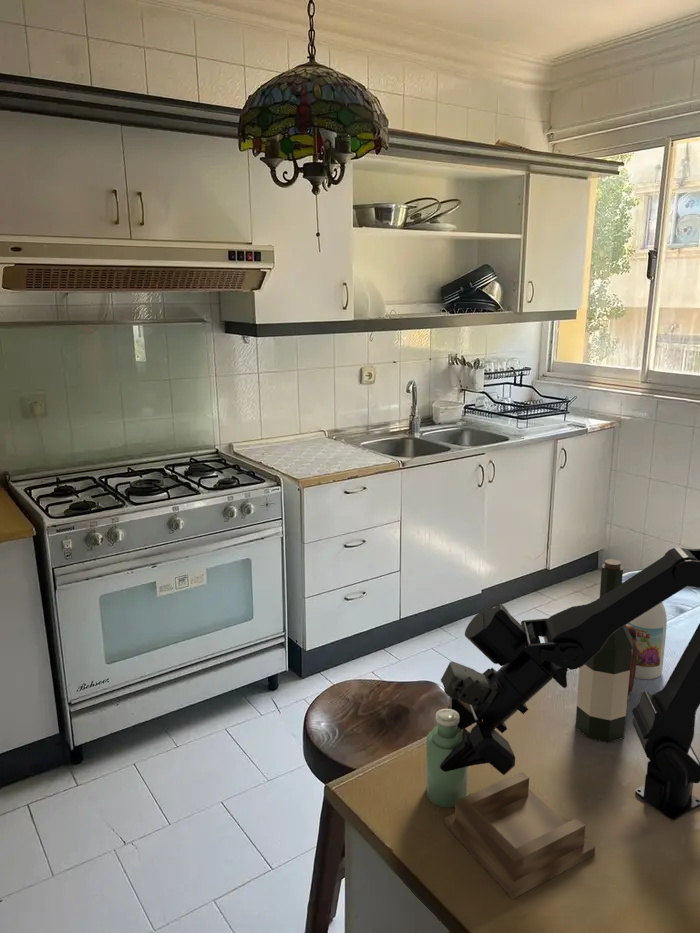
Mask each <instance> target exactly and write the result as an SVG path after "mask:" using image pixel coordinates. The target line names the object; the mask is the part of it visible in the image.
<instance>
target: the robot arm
mask: <svg viewBox="0 0 700 933" xmlns="http://www.w3.org/2000/svg"><path fill="white" fill-rule="evenodd" d="M638 572H639V571H638ZM636 573H637V572H636ZM636 573H635V574H634V575H632V576H631V577H629V578H628V579H626V580H624V581H622V584H620V585H619V586H617V587H616V588H614V589H613V590H611V591H609V592H608V593H606V594H605V595H603V596H602V597H600V596H599V598H598V599H596V600H594V601H591V602H589V603H587V604H586V603H585V604H581V605H574V606H571V607H567V608H566V609H563V610H561V611H559V612H557V613H555V614H553V615H551V616H549V617H548V618H539V619H527V620H526V619H525V620H524V619H523V620H522V621H520V622H519V621H518V620H517V619H516V618H514V617H513V615H511V613H510V612H509V610H508V609H507V608H506V607H505V606H504V605H503V604H502V603H498V604H497V605H496V606H494V607H488V608H486V609H484V610H481V611H479V612H478V613H477V614H475V615H474V616H473V618H472V619H471V620H470V621H469V623H468V624H467V626H466V628H465V630H464V637H465V638H466V639H467V640H468V641H470V643H471V644H473V645H474V646H475V647H476V648H477V649H478V650H479V651H480V652H481V653H482V654H483V655H484V656H485V657H486V658H487V659H488V660H489V661H490V662H492V664H494V665H499V666H500V668H499V669H498V670H497V671H496V669H494V668H493V667H491V668H488V669H486V670H485V671H484V672H482V673H481V672H480V671H477V670H476V669H473V668H471V667H469V666H466V665H464V664H462V663H458V662H455V661H449V663H448V665H447V667H446V669H445V671H444V673H443V675H442V677H441V678H440V682H441V683H442V685H443V688H444V689H443V691H444V693H445V695H446V696H447V697H448V699H449V700H448V701H449V703H448V704H449V705H448V708H447V709H452V710H454V711H456V712H458V714H459V716H460V720H459V723H458V724H457V727H459V728H460V729H461V730H462V740H461V742H460V743H459V744H458V745H457V746H456V747H455V748H454V749H453V751H452V752H451V753H450V754H449V755H448V756H447V757H446V758H445V760H444V761H443V762H442V763H441V765H440V769H442V770H443V771H444V772H447V771H451V770H455V769H459V768H464V767H472V766H476V765H478V766H479V765H484V764H490V765H491V766H492V767H493V768H495V769H496V770H497V771H498V772H499V773H500V774H501V775H503V776H505V775H506V774H508V772H509V771H511V770H512V769H513V768H514V767H515V766H516V756H515V754H514V751H513V749H512V747H511V745H510V742H509V741H508V740H507V739H506V738H505V737H504V736H502V735H501V734H503V733H505V732H506V730H508V728H507V727H508V726H507V724H506V722H507V721H508V720H509V719H511V717H512V716H514V714H516V713H517V712H518V711H519V712H520V713H521V715H524V714H526V712H528V711H529V708H528V706H527V705H526V703H528V702H529V701H530V700H531V699H532V698H533V697H534V696H535V695H536V694H537V693H539V691H541V689H543V688H544V687H545V686H546V685H547V684H548V683H549V682H550V681H552V679H553V680H554V681H555V682H556V683H557V684H558V685H560V687H561V688H563V689H565V688H567V687H568V679H567V676H568V675H567V674H568V670H570V671H574V670H577V669H579V668H580V667H582V666H583V665H585V664H586V663H587V662H588V661H589V660H590V659H592V658H593V657H594V656H595V655H596V654H597V653H598V652H599V651H600V650H601V649H602V647H603V646H604V644H605V643H606V641H607V640H608V638H609V637H610V636H611V635H612V634H613V633H614V632H615V631H617V630H618V629H620V628H622V627H623V626H625V625H626V624H628V623H630V622H631V621H633V620H634V619H636V618H637V617H639V616H641V615H642V614H644V613H645V612H647V611H649V610H650V609H652V608H653V607H655V606H657V605H658V604H660V603H661V602H664V601H666V600H668V599H669V598H672V597H673V596H674V595H675V594H677V593H679V592H681V591H682V590H684V589H686V588H687V587H690V588H691V587H692V588H698V589H700V548H686V547H672V548H671V549H669V550H668V551H666V552H665V553H664V555H663V556H662V557H660V558H659V559H657V560H656V561H654V562H653V563H651V564H649V565H648V566H646V567H645V568H643V569H642V570H640V572H639V573H637V574H636ZM540 637H541V638H543V639H544V642H541V639H540ZM699 706H700V622H699V623H698V626H697V627H696V629H695V630H694V633H693V634H692V637H691V638H690V639H689V642H688V644H687V645H686V648H684V651H683V653H682V655H681V656H680V658H679V659H678V662H677V663H676V666H675V667H674V668H673V671H672V672H671V674H670V676H669V678H668V680H667V681H666V683H665V685H664V686H663V687H662V689H661V690H659V691H657V692H655V693H653V694H652V693H650V692H648V691H646V690H643V691H642V693H641V696H640V698H639V701H638V703H637V704H636V706H634V707H633V708H632V709H631V710H630V711H631V713H632V715H633V718H632V724H633V728H634V730H635V732H636V735H637V737H638V738H639V742H640V744H641V746H642V749H643V751H644V753H645V755H646V758H647V759H648V760H649V761H648V762H647V766H646V774H645V777H644V778H645V779H644V784H643V785H641V786H639V787H637V788H636V789H635V792H634V793H635V794H636V795H637V796H638V797H640V798H641V799H642V800H643V801H645V802H646V803H648V804H649V805H650V806H651V807H653V808H654V809H656V810H657V811H658V812H660V813H661V814H663V815H664V816H665V817H667V818H668V819H669V820H672V821H675V820H677V819H679V818H681V817H682V816H685V815H686V814H688V813H690V812H692V811H693V810H695V809H697V808H699V807H700V799H699V798H698V797H697V796H695V795H694V794H693V789H694V784H699V783H700V760H699V757H698V756H697V755H696V752H695V751H694V748H693V746H692V743H693V740H694V738H695V724H696V723H695V722H696V714H697V711H698V709H699ZM474 724H475V725H474ZM472 725H474V726H473V727H472V728H471V730H470V731H469V730H468V729H466V728H468V727H470V726H472ZM495 729H496V730H495ZM497 730H498V731H497ZM499 732H500V733H499Z"/></svg>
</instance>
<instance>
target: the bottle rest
mask: <svg viewBox="0 0 700 933" xmlns="http://www.w3.org/2000/svg"><path fill="white" fill-rule="evenodd" d="M529 786H530V777H529V776H527V775H526V774H525V772H523V771H521V772H518V773H516V774H514V775H511V776H509V777H507V778H505V779H502V780H500V781H498V782H494V783H493V784H490V785H489V786H486V787H483V788H481V789H479V790H477V791H475V792H473V793H470V794H467V796H465V797H463V798H461V799H459V800H456V801H455V807H454V813H452V814H450V815H447V816H445V817H444V826H445V827H446V828H447V829H448V830H449V831H450V832H451V834H452V835H453V836H454V837H455V836H456V837H455V838H457V840H458V841H459V842H460V843H461V844H462V846H464V848H465V847H466V848H465V849H466V850H467V851H468V852H469V853H470V854H471V855H472V856H473V857H474V859H476V861H477V862H478V863H479V864H480V865H481V866H482V867H483V869H485V871H486V870H487V871H488V872H489V873H490V874H489V873H488V872H487V871H486V872H487V873H488V874H489V875H490V876H491V877H492V878H493V879H494V881H495V882H496V881H497V882H498V883H499V884H498V883H497V882H496V883H497V884H498V885H499V886H500V887H501V888H502V889H503V890H504V891H505V892H507V893H508V894H507V895H508V896H509V897H510V898H511V899H512V900H514V899H515V898H517V897H519V895H520V896H521V895H523V894H525V893H526V892H529V891H530V890H532V889H534V888H536V887H537V886H540V885H541V884H543V883H545V882H547V881H549V880H551V879H552V878H554V877H556V876H558V875H560V874H561V873H564V872H565V871H567V870H569V869H571V868H572V867H575V866H576V865H578V864H580V863H582V862H583V861H585V860H587V859H589V858H590V857H592V856H595V854H596V846H595V845H594V844H593V843H591V841H589V840H588V839H587V838H586V837H585V835H586V825H585V823H583V822H582V821H581V820H580V819H579V818H577V817H576V818H574V819H572V820H570V821H568V822H567V821H566V820H565V819H564V818H562V817H561V815H559V814H558V813H557V812H556V811H555V810H554V809H552V808H551V807H550V806H549V805H548V804H547V803H546V802H544V801H543V800H542V798H540V797H538V796H537V795H536V794H535V793H534V792H533V791H532V790H531V789H530V787H529Z"/></svg>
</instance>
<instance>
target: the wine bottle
mask: <svg viewBox="0 0 700 933" xmlns="http://www.w3.org/2000/svg"><path fill="white" fill-rule="evenodd" d="M623 575H624V566H623V565H622V561H620V560H618V559H611V558H609V559H605V560H604V563H602V564H601V573H600V588H599V598H600V597H602V596H603V595H605V594H606V593H608V592H609V591H611V590H613V589H614V588H616V587H617V586H619V585H620V584H622V583H623V578H624V576H623ZM632 640H633V638H632V636H631V634H630V632H629V631H628V629H627V627H626V625H625V626H623V627H622V628H620V629H618V630H617V631H615V632H614V633H613V634H612V635H611V636H610V637H609V638H608V640H607V641H606V643H605V644H604V646H603V647H602V649H601V650H600V651H599V652H598V653H597V654H596V655H595V656H594V657H593V658H592V659H590V660H589V661H588V662H587V663H586V664H585V665H583V666H582V667H580V668H578V669H579V670H578V680H577V681H578V683H577V684H578V685H577V699H576V713H575V714H576V715H575V728H576V729H577V730H578V729H579V730H580V731H581V732H582V733H581V732H580V731H579V730H578V731H579V732H580V733H581V734H583V733H584V734H583V735H584V736H585V735H586V736H585V737H586V738H587V737H588V738H587V739H590V738H591V739H590V740H594V739H596V740H595V741H599V740H600V742H603V741H605V742H604V743H608V742H609V743H612V742H615V741H614V740H616V741H618V740H617V739H619V740H621V739H620V738H622V739H624V738H625V732H626V731H625V730H626V729H625V728H626V719H627V718H626V717H627V710H628V708H627V707H628V706H627V705H628V698H627V697H628V686H629V675H630V663H631V652H632ZM623 737H624V738H623ZM611 741H612V742H611Z"/></svg>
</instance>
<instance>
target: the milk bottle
mask: <svg viewBox="0 0 700 933" xmlns="http://www.w3.org/2000/svg"><path fill="white" fill-rule="evenodd" d="M640 571H641V570H640ZM640 571H637V572H636V573H635V575H636V574H637V573H639V572H640ZM663 602H664V601H663ZM663 602H661V603H660V604H658V605H657V606H655V607H653V608H652V609H650V610H649V611H647V612H645V613H644V614H642V615H641V616H639V617H637V618H636V619H634V620H633V621H631V622H630V623H628V625H631V626H632V627H633V628H634V629H635V630H636V635H637V638H636V639H635V640H636V647H637V662H636V671H635V678H634V679H638V680H639V679H641V680H655V679H657V678H659V677H661V675H662V674H663V673H662V672H663V666H664V660H665V658H664V656H665V649H666V648H665V647H666V638H667V637H666V635H667V625H668V624H667V622H668V619H667V618H668V617H667V616H668V615H667V611H666V607H665V605H664V603H663Z"/></svg>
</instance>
